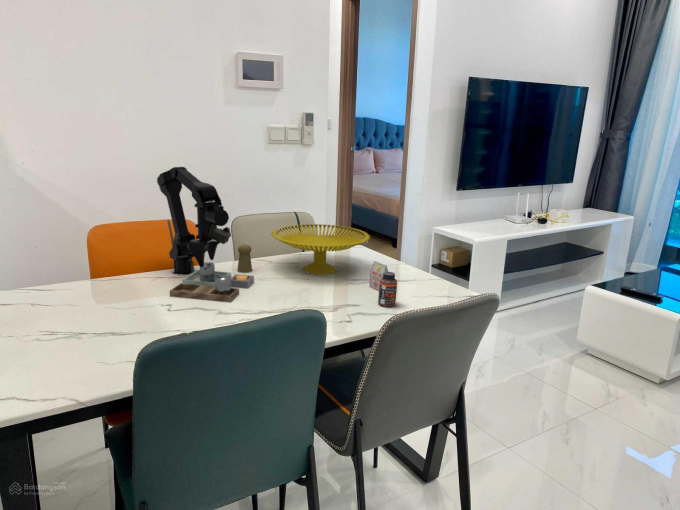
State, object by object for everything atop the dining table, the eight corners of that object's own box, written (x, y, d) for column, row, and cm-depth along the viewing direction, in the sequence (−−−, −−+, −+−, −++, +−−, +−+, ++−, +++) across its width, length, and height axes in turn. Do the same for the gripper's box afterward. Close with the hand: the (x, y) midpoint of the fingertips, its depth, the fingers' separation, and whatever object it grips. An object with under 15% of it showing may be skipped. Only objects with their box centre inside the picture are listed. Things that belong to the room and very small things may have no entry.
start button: (234, 285, 184) (234, 277, 183) (238, 282, 188) (238, 274, 187) (245, 286, 184) (245, 278, 183) (248, 283, 187) (248, 275, 187)
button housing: (228, 289, 183) (228, 280, 182) (235, 283, 190) (235, 274, 189) (247, 291, 182) (247, 281, 181) (253, 285, 189) (253, 275, 188)
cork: (254, 270, 207) (254, 243, 204) (250, 274, 201) (250, 247, 198) (239, 269, 207) (239, 242, 204) (235, 273, 201) (234, 246, 198)
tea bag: (376, 285, 194) (378, 260, 192) (388, 290, 189) (390, 264, 187) (369, 287, 192) (370, 261, 190) (381, 292, 187) (382, 266, 184)
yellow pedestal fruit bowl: (375, 261, 226) (377, 228, 222) (358, 290, 188) (360, 250, 184) (288, 252, 235) (289, 220, 231) (255, 278, 197) (255, 240, 193)
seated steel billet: (212, 298, 171) (212, 278, 169) (218, 293, 175) (218, 274, 174) (227, 300, 170) (227, 280, 168) (233, 295, 175) (233, 275, 173)
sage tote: (182, 288, 182) (182, 280, 182) (198, 277, 195) (197, 269, 194) (217, 291, 181) (217, 283, 180) (231, 280, 193) (231, 272, 192)
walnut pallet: (169, 299, 171) (169, 290, 171) (181, 291, 179) (180, 283, 178) (230, 305, 168) (230, 296, 168) (239, 296, 176) (239, 288, 175)
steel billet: (197, 284, 186) (197, 265, 184) (203, 279, 191) (203, 261, 189) (211, 285, 185) (211, 266, 183) (217, 281, 190) (216, 263, 188)
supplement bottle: (384, 308, 171) (386, 276, 168) (374, 302, 176) (376, 271, 173) (398, 306, 174) (401, 274, 171) (389, 300, 179) (391, 269, 176)
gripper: (217, 228, 172) (218, 272, 176) (236, 217, 190) (237, 258, 194) (185, 225, 173) (187, 269, 177) (208, 215, 191) (209, 255, 195)
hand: (206, 263), depth 186 cm, fingers open, 9 cm apart
